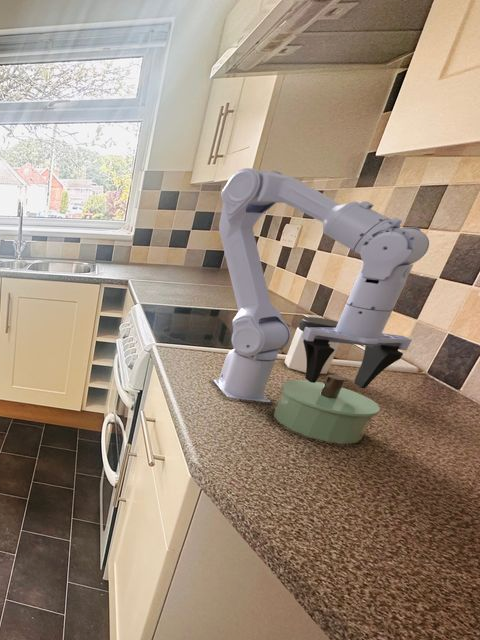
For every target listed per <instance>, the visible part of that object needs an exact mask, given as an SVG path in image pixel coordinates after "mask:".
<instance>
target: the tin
mask: <svg viewBox="0 0 480 640" xmlns="http://www.w3.org/2000/svg"><path fill="white" fill-rule="evenodd" d="M273 418H274V419H276V420H277V422H278V423H279V424H281V425H282V426H284V427H286V428H288V429H289V430H290V431H294V432H296V433H299V434H301V435H304V436H306V437H309V438H312V439H316V440H319V441H320V440H321V441H324V442H328V443H336V444H343V445H344V444H356V443H358V442H359V441H361V440H362V439H363V437H364V434H365V433H366V430H367V429H368V426H369V425H370V423H371V421H372V419H373V416H368V417H357V416H348V415H342V414H336V413H332V412H328V411H324V410H320V409H317V408H314V407H311V406H308V405H306V404H303V403H301V402H299V401H296V400H294V399H293V398H291V397H289V396H288V395H286V394H285V393H284V392H283V391H282V390H281V393H280V394H279V397H278V400H277V403H276V405H275V408H274V409H273Z"/></svg>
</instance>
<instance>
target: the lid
mask: <svg viewBox="0 0 480 640" xmlns="http://www.w3.org/2000/svg"><path fill="white" fill-rule="evenodd" d="M345 382H346V378H345V377H343V376H341V375H337V374H327V376H326V378H325V380H324V382H321V381H316V382H315V383H312V382H309V381H308V380H307V379H305V380H304V379H292V380H291V379H290V380H286V381H283V383H282V384H281V386H280V389H281V392H282V391H283V392H284V393H285V394H286V395H288V396H289V397H291V398H293V399H294V400H296V401H299V402H301V403H303V404H306V405H308V406H311V407H314V408H317V409H320V410H324V411H328V412H332V413H336V414H342V415H348V416H357V417H368V416H376V415H378V414H380V410H381V407H380V405H379V404H378V403H377V402H376V401H374V400H373V399H371V398H369V397H367V396H366V395H363V394H361V393H358V392H357V391H353V390H350V389H348V388H345V387H343V386H344V384H345Z"/></svg>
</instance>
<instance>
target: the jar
mask: <svg viewBox="0 0 480 640" xmlns="http://www.w3.org/2000/svg"><path fill="white" fill-rule="evenodd" d="M338 321H339V320H338ZM338 321H337V320H334V319H329V318H323V317H316V316H315V317H314V316H305V317H302V319H301V321H300V322H299V326H298V327H297V328H296V330H295V332H294V335H293V338H292V340H291V343H290V346H289V347H288V348H289V349H288V351H287V353H286V356H285V360H284V364H285V365H286V367H287V368H288V369H290V370H294V371H298V372H300V373H305V374H306V367H307V359H306V351H305V346H304V343H303V340H304V339H303V338H301V337H302V334H303V331H304V329H305V327H313V328H336V326H337V324H338ZM328 344H330V347H331V348H333V349H334V350H335V351H334V352H333V353H332V354H331V355H330V357H329V358H328V360H327V361H326V363H325V364H324V366H323V368H322V370H321V373H320V375H328V372H329V370H330V367H331V364H332V363H333V360H334V358H335V356H336V353H337V350H338V348H339V346H340V344H341V343H335V342H329V343H328Z"/></svg>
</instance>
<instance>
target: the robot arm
mask: <svg viewBox="0 0 480 640" xmlns="http://www.w3.org/2000/svg"><path fill="white" fill-rule="evenodd" d="M220 197H221V200H222V207H221V211H220V212H221V213H220V218H219V224H218V231H219V235H220V236H219V237H220V239H221V244H222V248H223V252H224V257H225V260H226V265H227V269H228V273H229V276H230V281H231V286H232V290H233V294H234V299H235V303H236V307H237V310H238V311H237V313H236V315H235V316H234V318H233V319H232V321H231V325H232V334H231V346H232V348H233V349H231V350H230V351H229V352H228V353H227V354H226V356H225V359H224V361H223V365H222V368H221V371H220V374H219V377H218V379H213V383H214V384H215V385H216V386H217V387H218V389H219V390H220V391H221V393H222V394H225V396H227V398H231V399H239V400H246V401H248V400H249V401H255V402H265V403H271V400H270V399H269V398H268V397H267V396H266V395H265V390H266V388H267V385H268V382H269V380H270V377H271V374H272V373H273V372H272V371H273V369H274V366H275V363H276V361H277V358H278V353H279V351H280V350H282V349H284V348H285V347H286V346H288V344H289V343H290V341H291V339H292V331H291V328H290V327H289V325H288V324H287V323H286V322H285V321H284V320H283V317H282V314H281V312H280V311H279V309H277V308H276V307H275V305H273V304H272V302H271V299H270V294H269V291H268V286H267V281H266V278H265V274H264V269H263V266H262V262H261V257H260V253H259V250H258V245H257V241H256V237H255V232H254V226H255V225H256V223H258V221H259V220H260V218H262V216H263V215H264V214H266V213H267V212H268V211H269V210H270V209H271V208H272V207H274V205H276V204H277V203H280V204H286V205H288V206H289V207H292V208H294V209H296V210H298V211H300V212H302V213H304V214H306V216H307V215H308V216H309V217H312V218H313V219H315V220H318V221H319V222H321V223H322V232H323V234H324V235H326V236H327V237H329V238H331V239H332V240H334V241H336V242H338V243H339V244H341V245H342V246H345V247H346V248H348V249H350V250H351V251H353V252H355V253H356V254H360V258H361V261H362V262H363V263H362V266H361V268H360V270H359V273H358V275H357V277H356V279H355V281H354V284H353V285H352V288H351V291H350V293H349V295H348V298H347V301H346V303H345V305H344V308H343V310H342V312H341V315H340V317H339V319H338V324H337V326H336V328H313V327H305V329H304V331H303V334H302V337H301V338H303V339H304V340H303V343H304V346H305V351H306V359H307V367H306V373H305V377H304V378H305V380H307V381H309V382H312V383H315V382H318V379H319V378H320V375H321V374H320V373H321V370H322V368H323V366H324V364H325V363H326V361H327V360H328V358H329V357H330V355H331V354H332V353H333V352H334V351H335V350H334V349H333V348H331V347H330V344H328V343H329V342H335V343H340V344H345V345H346V344H347V345H357V346H358V345H359V346H365V347H364V353H363V357H362V361H361V364H360V366H359V369H358V371H357V373H356V376H355V377H354V382H353V384H355V385H356V386H357V387H359V388H360V389H367V387H368V386H369V385H370V384H371V382H373V381H374V379H376V377H378V375H379V374H381V373H382V372H383V371H385V369H387V368H388V367H389V366H391V365H393V364H394V363H396V362H397V361H399V360H401V359H402V357H403V352H402V351H408V348H409V347H410V345H411V343H412V340H413V339H412V338H410V337H408V336H405V335H399V334H392V333H384V329H385V327H386V326H387V323H388V321H389V320H390V317H391V315H392V312H393V310H394V309H395V306H396V304H397V303H398V300H399V298H400V296H401V293H402V291H403V290H404V288H405V286H406V283H407V280H408V277H409V275H410V273H411V271H412V269H413V267H414V264H415V263H416V262H418V261H419V260H421V259H422V258H423V257H424V256H425V255H426V254H427V253H428V250H429V247H430V239H429V237H428V236H427V234H426V233H425V232H423V231H422V230H421V229H420V227H415V226H404V227H403V226H402V227H401V224H402V223H403V220H402V219H401V218H399V217H393V218H389V217H387V216H385V215H383V214H382V213H379V212H377V211H376V210H374V209H372V208H373V207H374V206H375V205H374V204H373V203H371V202H369V201H366V200H365V201H364V200H362V201H361V202H358V201H357V200H356V201H350V202H345V203H342V204H341V203H339V202H338V201H336V200H334V199H332V198H330V197H329V196H328V195H325V194H324V193H322V192H320V191H318V190H317V189H315V188H314V187H312V186H311V185H308V184H307V183H305V182H304V181H302V180H300V179H298V178H296V177H294V176H291V175H287V174H284V173H282V172H281V171H277V170H270V171H269V170H260V169H255V168H252V167H251V168H249V167H245V168H242V169H240V170H237V171H236V172H234V173H233V174H232V175H231V177H230V178H228V181H227V182H226V184H225V185H224V187H223V188H222V190H221V192H220Z"/></svg>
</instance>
